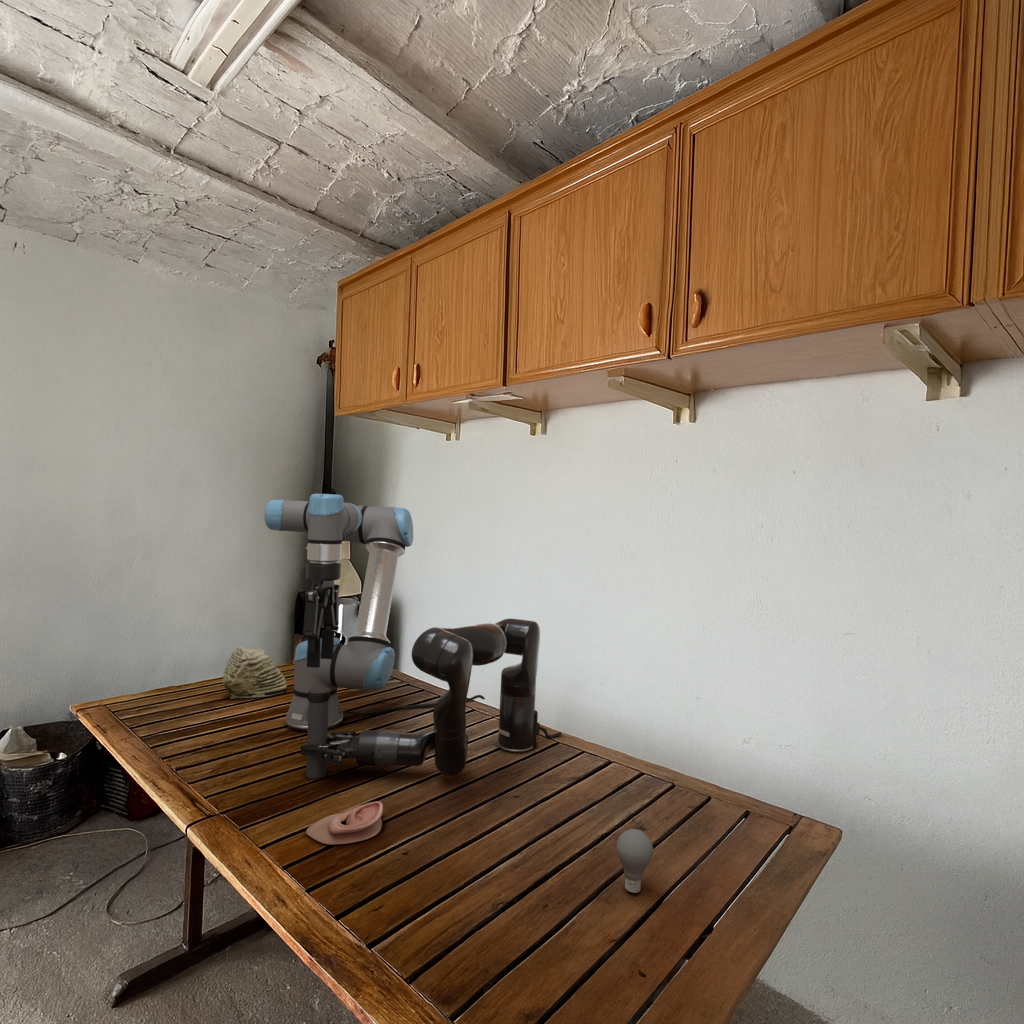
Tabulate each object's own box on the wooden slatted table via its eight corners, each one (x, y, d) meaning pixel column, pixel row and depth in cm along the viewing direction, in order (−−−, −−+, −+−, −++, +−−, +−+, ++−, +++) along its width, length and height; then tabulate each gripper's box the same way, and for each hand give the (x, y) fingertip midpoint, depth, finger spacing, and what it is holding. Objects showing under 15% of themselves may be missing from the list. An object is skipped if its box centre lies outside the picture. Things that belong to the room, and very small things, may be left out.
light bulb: (610, 879, 108) (613, 822, 108) (644, 879, 109) (647, 822, 109) (619, 902, 102) (622, 840, 102) (655, 901, 103) (658, 840, 103)
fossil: (218, 695, 195) (220, 647, 195) (278, 685, 208) (279, 640, 207) (228, 703, 189) (230, 653, 188) (289, 692, 201) (290, 645, 201)
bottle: (324, 778, 143) (327, 695, 142) (304, 778, 142) (307, 695, 142) (327, 769, 147) (330, 689, 147) (307, 770, 146) (310, 689, 146)
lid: (328, 702, 142) (329, 693, 142) (305, 702, 141) (306, 693, 141) (331, 695, 147) (331, 686, 147) (309, 695, 146) (309, 686, 146)
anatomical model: (298, 818, 116) (328, 791, 128) (297, 839, 116) (327, 810, 128) (365, 829, 114) (390, 800, 125) (364, 851, 114) (389, 820, 125)
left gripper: (325, 557, 154) (322, 651, 154) (288, 565, 134) (284, 673, 134) (355, 558, 153) (352, 653, 153) (322, 567, 133) (317, 675, 134)
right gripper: (386, 720, 151) (314, 717, 151) (373, 743, 137) (294, 740, 137) (385, 752, 152) (313, 749, 151) (372, 778, 137) (293, 774, 137)
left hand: (320, 662), depth 144 cm, fingers open, 7 cm apart
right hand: (305, 745), depth 144 cm, fingers closed on bottle, 4 cm apart
